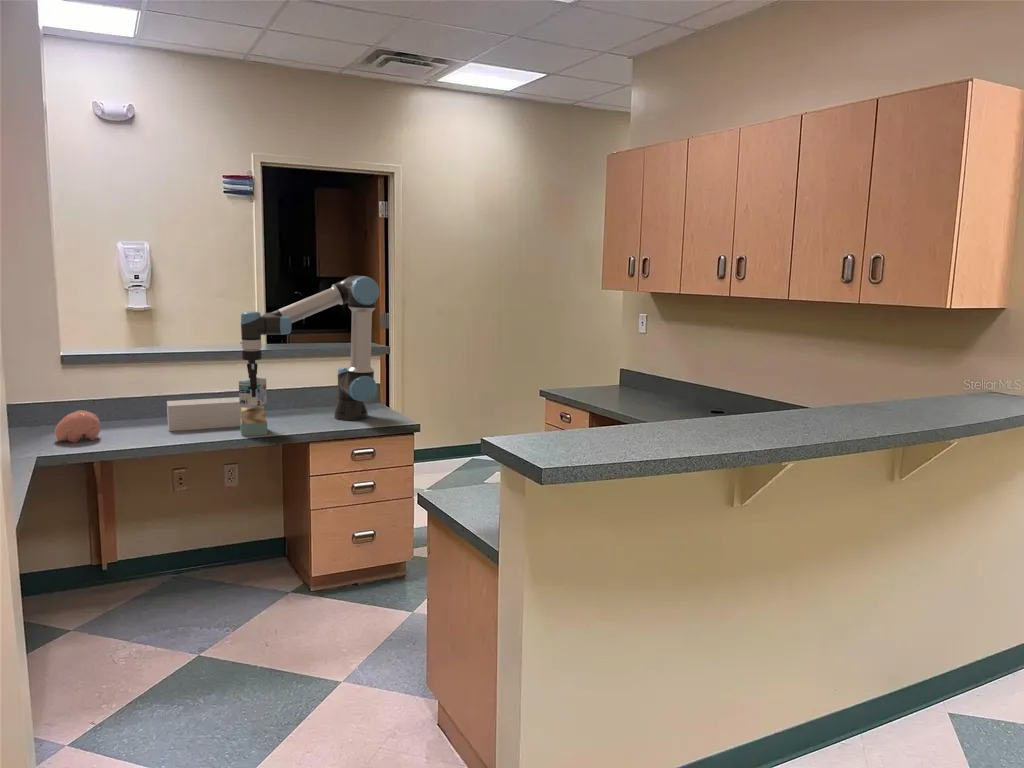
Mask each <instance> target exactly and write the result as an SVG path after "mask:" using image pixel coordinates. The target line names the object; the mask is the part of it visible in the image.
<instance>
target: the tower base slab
mask: <svg viewBox="0 0 1024 768" xmlns="http://www.w3.org/2000/svg"><path fill="white" fill-rule="evenodd" d="M239 429H240V435H241V436H242V437H245V436H261V434H263V435H268V421H267V419H266V418H265V423H257V424H242V421H241V419H240V426H239Z"/></svg>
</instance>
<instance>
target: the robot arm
mask: <svg viewBox="0 0 1024 768" xmlns="http://www.w3.org/2000/svg"><path fill="white" fill-rule="evenodd" d="M379 296H380V287H379V285H378V283H377V282H376V281H375V280H374V279H373V278H371V277H369V276H365V275H357V274H356V275H351V276H348V277H346V278H345V279H343V280H340V281H337V282H336V283H333V284H331V287H330V288H328V289H324V290H322V291H320V292H318V293H316V294H315V293H314V294H313V295H311V296H307V297H305V298H303V299H301V300H299V301H296V302H294V303H291V304H289V305H287V306H283V307H281V308H279V309H276V310H274V311H271V312H266V313H265V312H264V313H263V314H262V315H261V313H260V312H259V311H252V310H251V311H248V310H247V311H243V312H241V314H240V332H241V341H240V343H239V344H240V345H241V349H242V351H241V359H242V360H243V361H247V362H248V363H246V368H247V374H248V378H250V387H248V389H250V405H258V402H257V378H258V377H257V375H258V367H259V366H258V363H256V361H259V360H262V355H263V354H262V350H261V349H262V336H266V335H267V336H269V335H270V336H271V335H275V336H276V335H277V336H278V335H282V336H284V335H289V334H291V332H292V324H293V323H296V322H297V321H300V320H303V319H305V318H307V317H311V316H312V315H314V314H317V313H319V312H323V311H324V310H327V309H329V308H331V307H334V306H337V305H340V306H342V305H346V304H347V306H348V308H349V309H350V311H351V332H350V334H351V335H350V336H351V338H350V366H349V367H340V368H338V370H337V403H336V405H335V406H336V407H335V409H334V413H333V415H334V416H333V417H334V418H335V419H337V420H341V421H361V420H364V419H367V418H368V416H369V412H368V409H367V405H366V403H365V402H368V401H369V400H371V399H373V397H374V396H375V395H376V392H377V383H376V381H375V370H374V368H372V366H371V361H372V359H371V358H372V331H373V330H372V325H373V323H372V322H373V320H372V318H373V312H374V311H375V310H376V307H377V300H378V298H379Z"/></svg>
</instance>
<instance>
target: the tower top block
mask: <svg viewBox="0 0 1024 768" xmlns="http://www.w3.org/2000/svg"><path fill="white" fill-rule="evenodd" d="M265 410H266V409H265V407H264V406H257V407H255V408H250V407H246V408H241V421H242V424H257V423H265V419H266V411H265Z"/></svg>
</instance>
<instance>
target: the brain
mask: <svg viewBox="0 0 1024 768" xmlns="http://www.w3.org/2000/svg"><path fill="white" fill-rule="evenodd" d="M100 432H101V422H100V419H99V417H98V416H97V415H96V414H95V413H93V412H90V411H87V410H81V409H79V410H76V411H74V412H71V413H68V414H67V415H66V416H64V417H63V418H62V419H61V420H60V421H59V422H58V423H57V425H56V427H55V429H54V436H55V438H56V440H57V441H61V442H65V441H67V440H68V442H71V443H78V442H79V441H80V439H81V438H84V439H86V440H88V441H89V440H95V439H96V438H97V437H99V434H100Z"/></svg>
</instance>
